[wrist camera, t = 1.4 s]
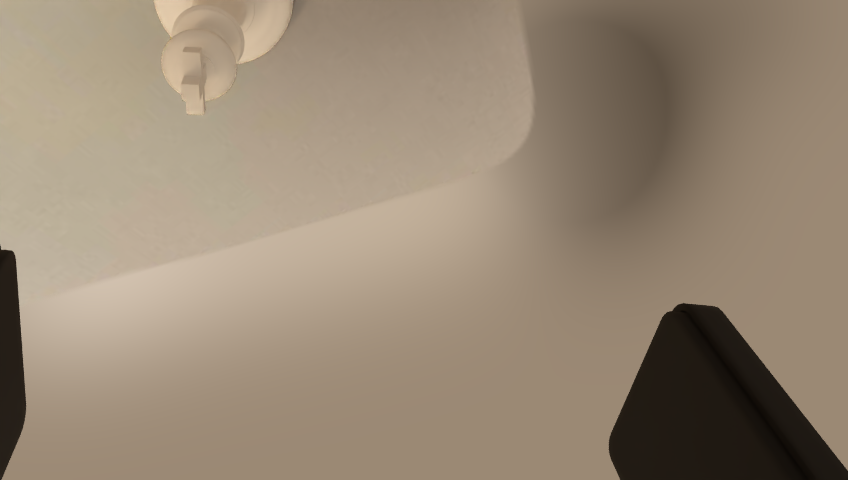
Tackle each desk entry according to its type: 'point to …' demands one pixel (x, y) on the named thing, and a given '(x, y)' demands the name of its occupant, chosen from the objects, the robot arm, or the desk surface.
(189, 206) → the desk surface
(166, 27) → the chess piece
